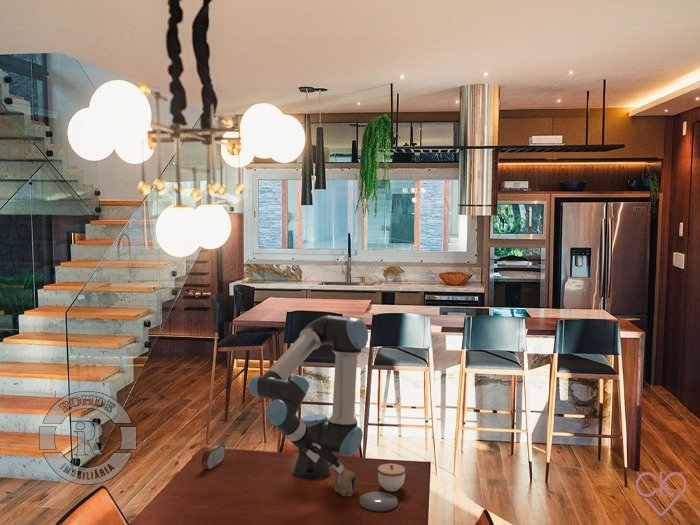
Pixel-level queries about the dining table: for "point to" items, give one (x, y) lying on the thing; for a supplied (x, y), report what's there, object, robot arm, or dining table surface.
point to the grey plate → (378, 501)
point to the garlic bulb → (345, 482)
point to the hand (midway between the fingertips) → (329, 464)
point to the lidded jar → (391, 476)
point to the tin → (213, 456)
